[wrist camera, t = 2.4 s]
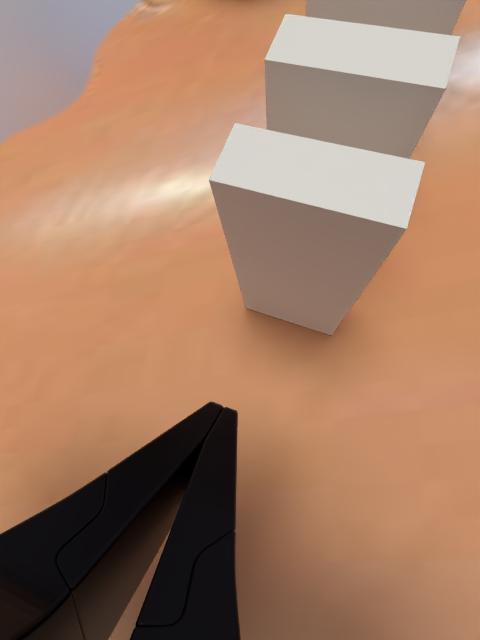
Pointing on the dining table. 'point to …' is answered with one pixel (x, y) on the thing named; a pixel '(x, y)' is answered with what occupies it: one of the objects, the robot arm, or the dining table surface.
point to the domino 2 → (355, 82)
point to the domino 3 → (391, 13)
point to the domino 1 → (309, 220)
